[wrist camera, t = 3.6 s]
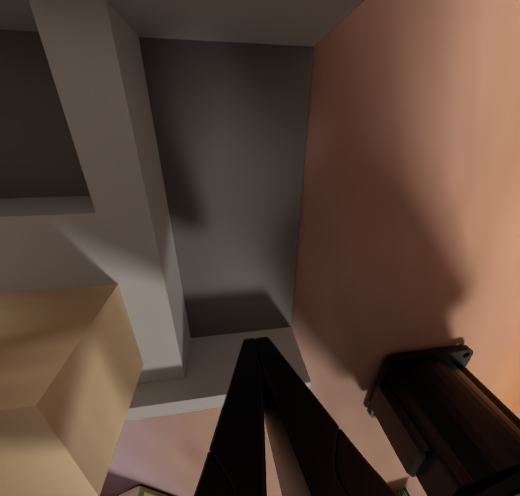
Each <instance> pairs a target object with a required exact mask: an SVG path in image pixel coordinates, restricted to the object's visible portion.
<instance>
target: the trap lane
mask: <svg viewBox="0 0 520 496" xmlns="http://www.w3.org/2000/svg"><path fill="white" fill-rule="evenodd" d="M363 1H364V0H0V293H10V292H23V291H35V290H48V289H61V288H74V287H87V286H100V285H113V284H118V285H119V288H120V291H121V294H122V297H123V301H124V304H125V307H126V310H127V313H128V316H129V320H130V323H131V326H132V329H133V332H134V335H135V339H136V342H137V345H138V348H139V351H140V354H141V358H142V361H143V364H144V365H143V368H142V371H141V374H140V377H139V380H138V383H137V385H136V388H135V391H134V394H133V397H132V400H131V403H130V406H129V409H128V412H127V415H126V418H125V421H132V420H138V419H145V418H151V417H158V416H164V415H171V414H178V413H184V412H191V411H197V410H204V409H211V408H217V407H223V404H224V400H225V397H226V394H227V391H228V388H229V384H230V381H231V378H232V375H233V372H234V368H235V365H236V362H237V359H238V356H239V352H240V349H241V346H242V343H243V340H244V339H248V338H255V339H256V338H258V337H269V339H270V340H271V341H272V342H273V344H274V345H275V346H276V347H277V349H278V350H279V351H280V352H281V354H282V355H283V356H284V358H285V359H286V360H287V361H288V363H289V364H290V365H291V366H292V368H293V369H294V370H295V371H296V373H297V374H298V375H299V377H300V378H301V379H302V380H303V382H304V383H305V384H306V385H307V387H308V388H309V389H310V386H311V381H310V378H309V375H308V372H307V370H306V367H305V364H304V361H303V359H302V356H301V353H300V350H299V348H298V345H297V342H296V339H295V336H294V334H293V331H292V328H291V322H292V310H293V297H294V285H295V273H296V261H297V248H298V236H299V224H300V212H301V199H302V187H303V175H304V163H305V151H306V138H307V126H308V114H309V102H310V89H311V77H312V65H313V53H314V46H315V45H316V44H317V43H319V42H320V41H321V40H322V39H323V38H324V37H325V36H326V35H327V34H328V33H329V32H330V31H332V30H333V29H334V28H335V27H336V26H337V25H338V24H339V23H340V22H341V21H342V20H343V19H345V18H346V17H347V16H348V15H349V14H350V13H351V12H352V11H353V10H354V9H355V8H356V7H358V6H359V5H360V4H361V3H362V2H363ZM125 421H124V422H125Z"/></svg>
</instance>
